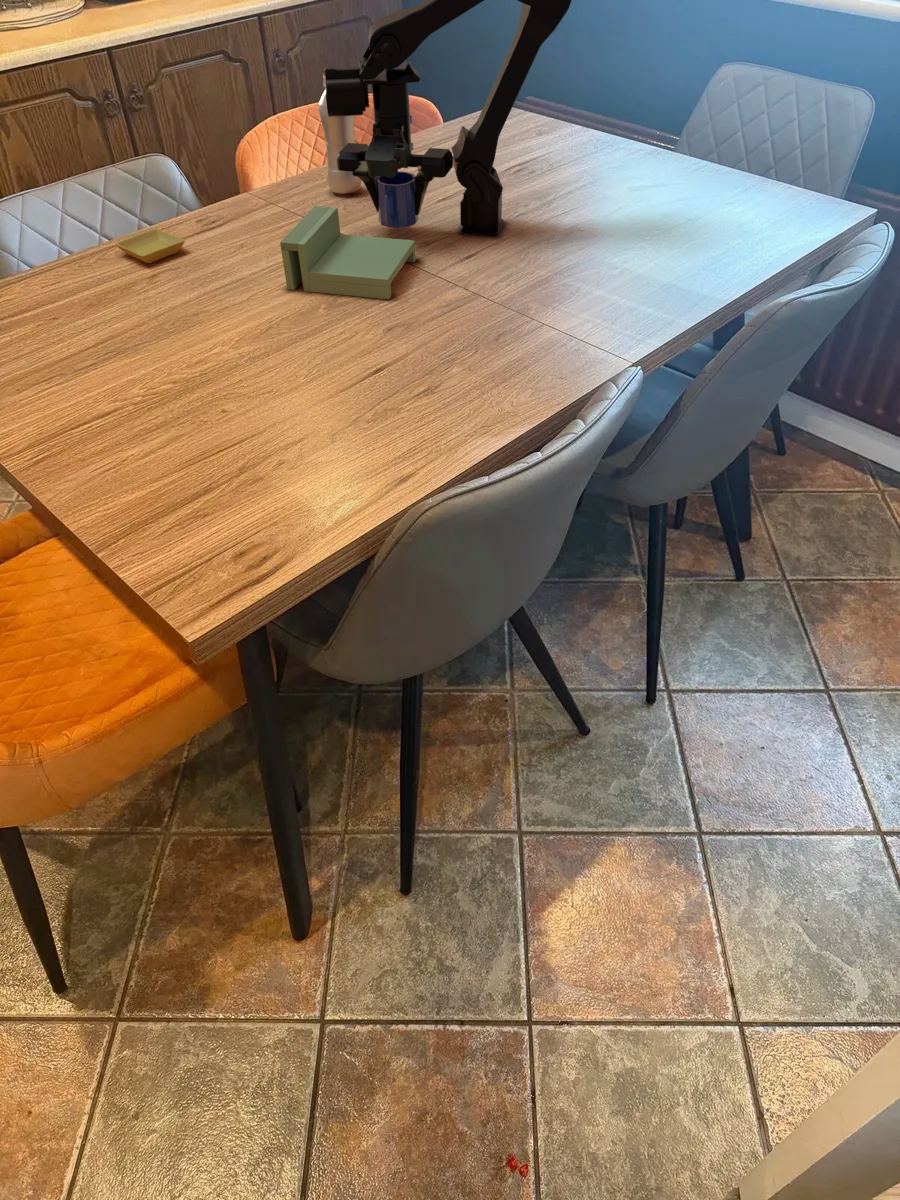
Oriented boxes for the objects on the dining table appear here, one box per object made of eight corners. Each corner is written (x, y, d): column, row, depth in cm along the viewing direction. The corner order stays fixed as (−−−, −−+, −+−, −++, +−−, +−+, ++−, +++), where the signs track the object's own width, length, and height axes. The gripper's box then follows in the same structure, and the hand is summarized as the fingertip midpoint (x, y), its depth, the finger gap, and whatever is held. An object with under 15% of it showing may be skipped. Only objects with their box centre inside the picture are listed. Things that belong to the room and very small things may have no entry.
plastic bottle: (357, 198, 163) (346, 79, 149) (323, 197, 164) (309, 78, 150) (366, 186, 168) (356, 69, 154) (333, 184, 169) (320, 68, 155)
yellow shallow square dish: (117, 254, 147) (113, 242, 146) (160, 239, 152) (157, 227, 150) (145, 268, 143) (142, 256, 142) (188, 252, 147) (185, 240, 146)
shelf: (415, 259, 144) (413, 213, 138) (389, 299, 133) (385, 251, 128) (320, 250, 147) (314, 205, 141) (287, 289, 137) (279, 242, 131)
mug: (422, 214, 152) (420, 172, 147) (407, 235, 145) (405, 192, 140) (386, 211, 153) (383, 170, 148) (370, 231, 147) (366, 189, 142)
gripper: (319, 125, 134) (331, 226, 145) (434, 132, 131) (437, 235, 142) (343, 104, 142) (353, 202, 153) (452, 110, 138) (454, 210, 149)
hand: (398, 212), depth 149 cm, fingers closed on mug, 7 cm apart
